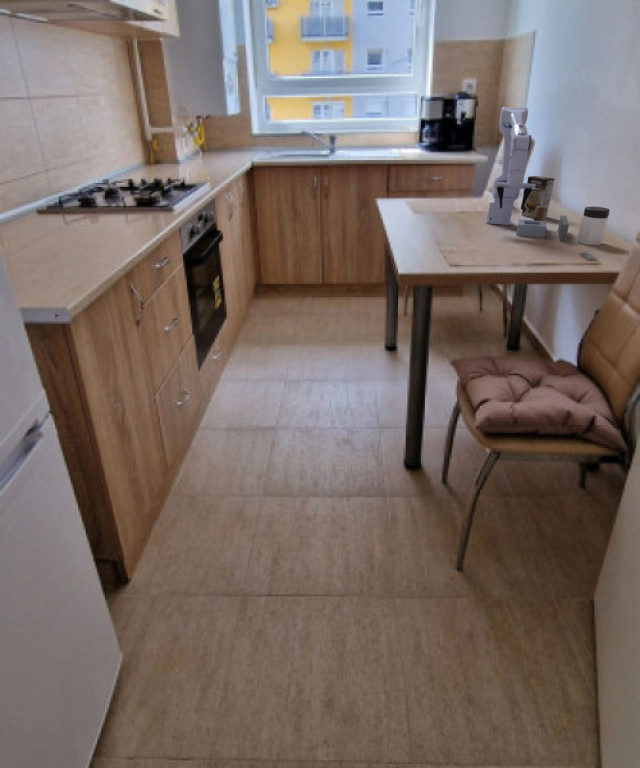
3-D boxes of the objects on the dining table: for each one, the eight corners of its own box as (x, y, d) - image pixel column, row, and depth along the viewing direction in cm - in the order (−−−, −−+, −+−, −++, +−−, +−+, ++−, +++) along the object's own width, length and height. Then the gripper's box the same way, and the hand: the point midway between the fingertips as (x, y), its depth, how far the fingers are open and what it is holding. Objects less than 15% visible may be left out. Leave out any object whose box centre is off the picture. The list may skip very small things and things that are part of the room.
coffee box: (520, 215, 251) (527, 176, 243) (528, 213, 254) (535, 175, 247) (539, 218, 245) (547, 179, 237) (547, 217, 248) (555, 177, 241)
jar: (607, 244, 206) (616, 210, 201) (591, 246, 203) (599, 211, 197) (587, 238, 213) (595, 205, 208) (571, 240, 210) (578, 207, 205)
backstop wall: (559, 241, 209) (562, 224, 206) (557, 230, 224) (560, 215, 222) (565, 241, 209) (568, 224, 206) (563, 231, 224) (566, 215, 221)
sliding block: (516, 235, 217) (518, 224, 215) (516, 229, 225) (518, 219, 223) (544, 237, 214) (546, 226, 212) (543, 231, 222) (545, 221, 221)
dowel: (532, 228, 228) (535, 207, 224) (532, 226, 231) (535, 205, 227) (541, 229, 227) (545, 208, 223) (541, 227, 230) (545, 206, 226)
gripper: (496, 170, 210) (491, 208, 216) (538, 171, 207) (532, 210, 212) (496, 169, 216) (491, 206, 222) (536, 170, 213) (530, 208, 219)
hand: (511, 208), depth 218 cm, fingers open, 7 cm apart
